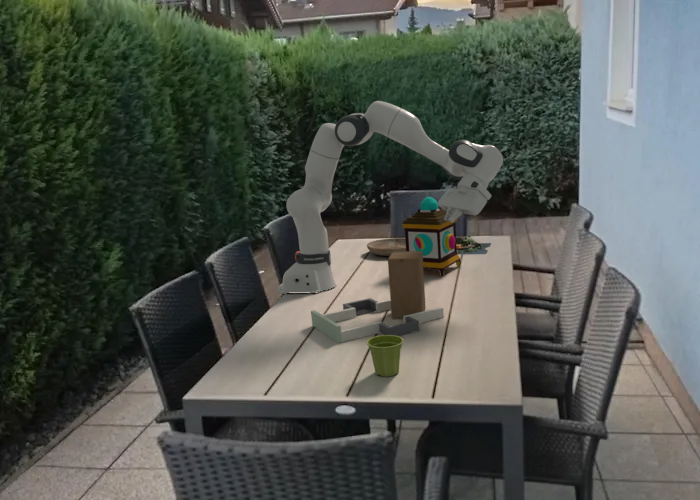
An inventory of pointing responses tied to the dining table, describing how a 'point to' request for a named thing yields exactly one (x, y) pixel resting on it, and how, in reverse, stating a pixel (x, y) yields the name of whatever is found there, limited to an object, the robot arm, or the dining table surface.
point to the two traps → (397, 330)
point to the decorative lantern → (432, 236)
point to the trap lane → (334, 330)
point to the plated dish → (470, 246)
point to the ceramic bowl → (387, 246)
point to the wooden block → (406, 283)
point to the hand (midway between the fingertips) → (448, 221)
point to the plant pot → (385, 354)
